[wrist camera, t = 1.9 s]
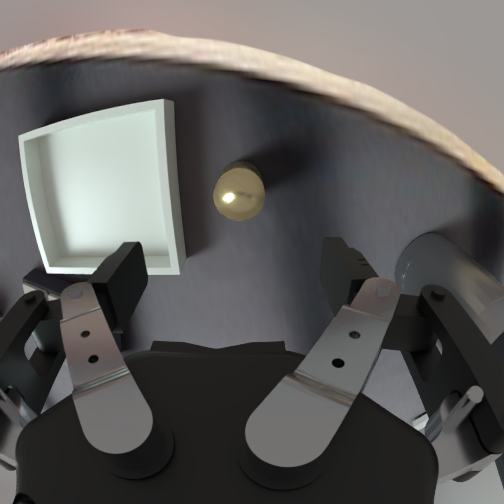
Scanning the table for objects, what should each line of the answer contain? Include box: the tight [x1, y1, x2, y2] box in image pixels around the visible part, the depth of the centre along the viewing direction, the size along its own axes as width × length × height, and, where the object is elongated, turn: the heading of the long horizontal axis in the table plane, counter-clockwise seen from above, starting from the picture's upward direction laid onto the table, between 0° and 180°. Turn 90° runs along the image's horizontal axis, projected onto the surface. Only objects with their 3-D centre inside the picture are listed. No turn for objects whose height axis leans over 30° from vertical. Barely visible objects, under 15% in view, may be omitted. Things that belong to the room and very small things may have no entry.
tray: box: [19, 99, 187, 275], centre depth 25 cm, size 18×17×4 cm
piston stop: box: [213, 161, 265, 221], centre depth 24 cm, size 4×4×6 cm
